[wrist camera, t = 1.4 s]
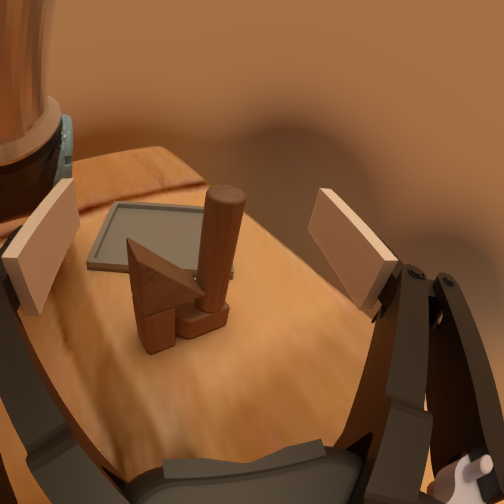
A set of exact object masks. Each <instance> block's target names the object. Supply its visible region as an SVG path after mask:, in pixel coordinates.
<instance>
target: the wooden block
mask: <svg viewBox="0 0 504 504" xmlns="http://www.w3.org/2000/svg"><path fill="white" fill-rule="evenodd" d="M245 202H246V196H245V193H244V192H243V191H242V190H241V189H239V188H237V187H234V186H230V185H223V184H219V185H213V186H211V187H209V189H208V190H207V192H206V197H205V205H204V213H203V221H202V229H201V238H200V247H199V256H198V266H197V276H196V280H195V279H194V278H193V276H192V275H191V274H190V273H188V272H187V271H185V270H183V269H181V268H180V267H178V266H176V265H174V264H173V263H171V262H169V261H167V260H166V259H164V258H162V257H160V256H159V255H157V254H155V253H154V252H152V251H150V250H149V249H147V248H145V247H143V246H142V245H140V244H138V243H137V242H135V241H133V240H132V239H130V238H128V237H127V238H126V244H127V256H128V266H129V275H130V283H131V291H132V294H133V296H132V298H133V305H134V312H135V318H136V324H137V330H138V334H139V336H140V338H141V340H142V342H143V344H144V346H145V348H146V350H147V352H148V353H149V354H152V353H155V352H158V351H160V350H163V349H166V348H168V347H171V346H173V345H175V335H178V336H181V337H184V338H188V339H191V338H193V337H196V336H199V335H201V334H204V333H206V332H208V331H211V330H213V329H216V328H218V327H221V326H223V325H225V324H226V323H227V318H228V314H229V309H230V307H229V305H228V304H227V303H226V301H225V299H226V294H227V289H228V284H229V279H230V274H231V269H232V264H233V259H234V254H235V249H236V244H237V240H238V235H239V230H240V225H241V221H242V216H243V211H244V207H245Z"/></svg>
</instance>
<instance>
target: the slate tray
mask: <svg viewBox="0 0 504 504" xmlns="http://www.w3.org/2000/svg"><path fill="white" fill-rule="evenodd" d="M203 213H204V207H200V206H187V205H174V204H159V203H143V202H126V201H114V203H113V205H112V207H111V209H110V211H109V213H108V215H107V217H106V219H105V221H104V223H103V225H102V227H101V229H100V231H99V233H98V236H97V238H96V240H95V242H94V244H93V247H92V249H91V251H90V254H89V256H88V258H87V261H86V264H87V268H88V269H89V270H100V271H112V272H125V273H129V266H128V256H127V244H126V238H127V237H128V238H130V239H132V240H133V241H135V242H137V243H138V244H140V245H142V246H143V247H145V248H147V249H149V250H150V251H152V252H154V253H155V254H157V255H159V256H160V257H162V258H164V259H166V260H167V261H169V262H171V263H173V264H174V265H176V266H178V267H180V268H181V269H183V270H185V271H187V272H188V273H190V274H191V275H192V276H193V277H196V276H197V266H198V256H199V247H200V238H201V229H202V221H203ZM233 274H234V269H233V264H232V269H231V274H230V279H232V278H233Z"/></svg>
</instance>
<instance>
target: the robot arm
mask: <svg viewBox="0 0 504 504" xmlns="http://www.w3.org/2000/svg"><path fill="white" fill-rule="evenodd" d="M56 1H57V0H0V224H2V223H5V222H9V221H13V220H16V219H20V218H24V217H28V216H30V217H29V218H28V220H27V221H26V222H25V224H24V225H20V226H19V227H18V228H17V229H15V230H14V231H13V232H12V233H11V235H10V236H9V237H8V239H7V240H6V241H5V243H4V244H3V246H2V247H1V249H0V396H1V399H2V401H3V404H4V406H5V408H6V411H7V413H8V415H9V417H10V419H11V421H12V424H13V426H14V428H15V430H16V432H17V434H18V436H19V438H20V439H21V441H22V443H23V445H24V447H25V449H26V451H27V454H28V456H27V457H26V462H27V465H28V467H29V469H30V471H31V473H32V475H33V476H34V478H35V479H36V481H37V482H38V484H39V485H40V487H41V488H42V490H43V491H44V493H45V494H46V496H47V497H48V498H49V500H50V501H51V503H52V504H495V503H497V502H500V501H502V500H504V420H503V415H502V410H501V405H500V401H499V397H498V393H497V389H496V385H495V381H494V378H493V374H492V371H491V368H490V364H489V361H488V358H487V355H486V352H485V349H484V346H483V343H482V340H481V337H480V335H479V332H478V329H477V327H476V324H475V322H474V319H473V317H472V314H471V312H470V309H469V307H468V305H467V302H466V300H465V298H464V295H463V293H462V291H461V289H460V287H459V285H458V283H457V282H456V281H455V279H454V278H453V277H452V276H451V275H449V274H446V273H439V274H438V276H437V277H436V279H435V281H434V280H429V279H427V277H426V275H425V274H424V273H423V272H422V271H421V270H420V269H419V268H417V267H415V266H413V265H409V264H406V265H404V264H403V263H402V262H401V261H400V259H399V258H398V257H397V256H396V255H395V254H394V253H393V251H392V250H390V248H389V247H388V246H387V245H386V244H385V242H383V240H382V239H381V238H380V237H378V236H377V235H376V234H374V233H373V232H372V231H371V230H370V228H369V227H368V226H367V225H366V224H365V223H364V222H363V221H362V220H361V219H360V218H359V217H358V216H357V215H356V214H355V213H354V212H353V211H352V210H351V209H350V208H349V206H348V205H347V204H345V202H344V201H343V200H341V199H340V197H338V196H337V194H335V193H334V192H333V191H332V190H331V189H324V188H320V189H319V192H318V195H317V199H316V202H315V206H314V210H313V213H312V216H311V220H310V223H309V226H308V231H309V233H310V234H311V236H312V237H313V239H314V240H315V242H316V243H317V245H318V246H319V248H320V249H321V251H322V253H323V254H324V256H325V257H326V259H327V260H328V262H329V263H330V265H331V266H332V268H333V270H334V271H335V273H336V274H337V276H338V277H339V279H340V281H341V282H342V284H343V285H344V287H345V289H346V290H347V292H348V293H349V295H350V296H351V298H352V300H353V302H354V303H355V305H356V306H357V308H358V310H368V309H372V308H373V306H374V305H375V303H376V301H377V300H378V299H379V301H380V302H381V304H382V305H381V307H380V308H379V310H378V312H377V314H376V315H375V317H374V319H373V320H372V322H371V323H374V321H375V320H376V323H375V327H374V332H373V336H372V340H371V344H370V348H369V352H368V356H367V359H366V363H365V367H364V370H363V374H362V377H361V380H360V384H359V387H358V390H357V393H356V396H355V399H354V402H353V405H352V408H351V411H350V414H349V417H348V420H347V423H346V425H345V428H344V430H343V433H342V434H341V436H340V437H339V439H338V440H337V442H336V443H335V445H334V446H333V447H329V446H323V443H322V440H321V439H318V440H314V441H310V442H306V443H302V444H298V445H293V446H288V447H285V448H283V449H281V450H279V451H276V452H274V453H272V454H270V455H268V456H265V457H263V458H261V459H258V460H256V461H253V462H251V463H237V462H227V461H219V460H212V459H205V458H199V459H169V460H162V462H163V466H162V467H158V468H154V469H151V470H149V471H146V472H144V473H142V474H140V475H138V476H137V477H136V478H134V479H133V480H131V481H130V482H129V483H128V482H127V481H126V480H125V479H124V478H123V476H122V475H121V474H120V473H119V472H118V471H117V470H116V469H115V468H114V467H113V466H112V465H111V464H110V463H109V462H108V461H107V460H106V459H105V458H104V457H103V456H102V454H101V453H100V452H99V451H98V449H97V448H96V447H95V446H94V444H93V443H92V442H91V441H90V439H89V438H88V437H87V435H86V434H85V433H84V431H83V430H82V429H81V427H80V426H79V424H78V423H77V422H76V420H75V419H74V417H73V416H72V414H71V413H70V411H69V410H68V408H67V407H66V405H65V404H64V402H63V401H62V399H61V397H60V396H59V394H58V392H57V391H56V389H55V387H54V386H53V384H52V382H51V381H50V379H49V377H48V375H47V373H46V372H45V370H44V368H43V366H42V364H41V362H40V360H39V358H38V356H37V354H36V352H35V350H34V348H33V346H32V344H31V342H30V340H29V338H28V335H27V333H26V331H25V329H24V326H23V324H22V322H21V319H20V317H19V315H18V313H17V310H18V308H19V305H21V307H22V309H23V311H24V313H25V315H33V316H40V315H41V313H42V310H43V307H44V304H45V302H46V299H47V297H48V294H49V292H50V289H51V287H52V284H53V282H54V279H55V277H56V275H57V272H58V270H59V268H60V266H61V263H62V261H63V259H64V257H65V255H66V253H67V250H68V248H69V246H70V244H71V242H72V240H73V238H74V236H75V234H76V232H77V230H78V228H79V227H80V220H79V213H78V206H77V198H76V189H75V179H74V178H72V160H71V159H72V153H73V126H72V119H71V117H70V116H69V115H63V114H61V110H60V107H59V104H58V103H57V102H56V100H54V99H53V98H52V97H50V96H48V67H49V52H50V40H51V32H52V25H53V17H54V12H55V6H56ZM442 314H443V318H442V321H441V322H440V324H439V322H438V319H439V318H440V317H441V315H442ZM425 392H426V401H427V410H428V411H425V410H424V401H425ZM429 446H430V455H431V464H432V470H433V475H434V479H435V481H433V482H431V483H430V484H429V485H428V487H427V494H426V493H424V492H422V491H420V488H421V484H422V480H423V476H424V471H425V467H426V462H427V457H428V451H429ZM0 504H18V503H17V500H16V497H15V495H14V492H13V489H12V487H11V484H10V482H9V479H8V476H7V473H6V470H5V467H4V464H3V461H2V457H1V454H0Z"/></svg>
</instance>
